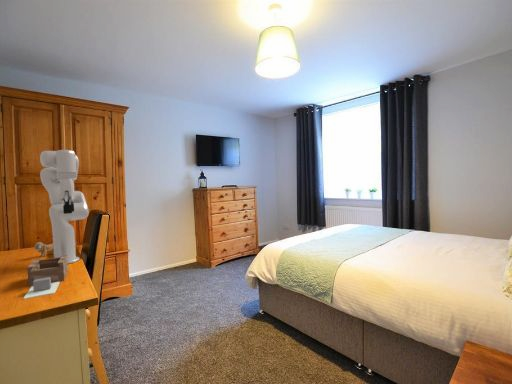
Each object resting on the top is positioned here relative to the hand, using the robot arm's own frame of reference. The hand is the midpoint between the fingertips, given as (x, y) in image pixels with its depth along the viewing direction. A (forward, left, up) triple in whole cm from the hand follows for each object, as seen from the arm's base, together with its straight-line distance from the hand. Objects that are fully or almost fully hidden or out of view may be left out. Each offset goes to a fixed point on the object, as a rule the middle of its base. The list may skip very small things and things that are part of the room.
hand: (69, 212), depth 126 cm
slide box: (+6, -8, -28) cm, 30 cm away
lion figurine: (-46, -15, -29) cm, 56 cm away
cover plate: (+21, -8, -29) cm, 37 cm away
